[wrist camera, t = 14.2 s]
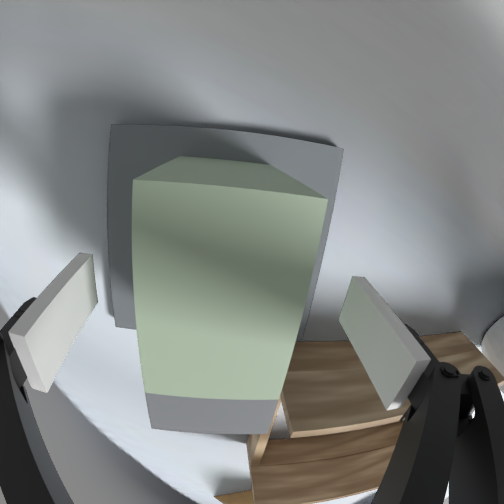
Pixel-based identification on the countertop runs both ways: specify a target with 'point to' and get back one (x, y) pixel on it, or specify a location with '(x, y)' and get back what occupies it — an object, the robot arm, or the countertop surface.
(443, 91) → the countertop surface
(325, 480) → the wooden display shelf
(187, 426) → the capped box
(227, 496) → the sandwich container
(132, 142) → the slate mat
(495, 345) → the soap bottle
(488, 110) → the countertop surface
